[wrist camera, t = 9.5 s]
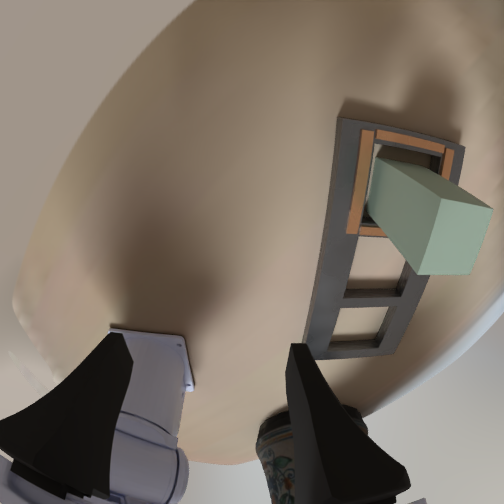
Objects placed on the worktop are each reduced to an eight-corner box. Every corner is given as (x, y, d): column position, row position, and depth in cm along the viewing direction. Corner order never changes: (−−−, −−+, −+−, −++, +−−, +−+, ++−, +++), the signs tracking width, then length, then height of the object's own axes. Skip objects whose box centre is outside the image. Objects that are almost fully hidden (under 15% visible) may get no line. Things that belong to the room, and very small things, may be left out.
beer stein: (284, 451, 42) (289, 569, 20) (222, 414, 34) (212, 583, 12) (372, 425, 38) (396, 552, 16) (342, 378, 29) (376, 580, 8)
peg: (410, 215, 19) (469, 274, 12) (365, 211, 19) (417, 274, 12) (422, 165, 17) (493, 209, 10) (375, 156, 17) (441, 198, 10)
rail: (389, 345, 27) (393, 355, 25) (299, 351, 27) (301, 362, 25) (456, 143, 16) (467, 147, 15) (337, 116, 16) (343, 118, 15)
